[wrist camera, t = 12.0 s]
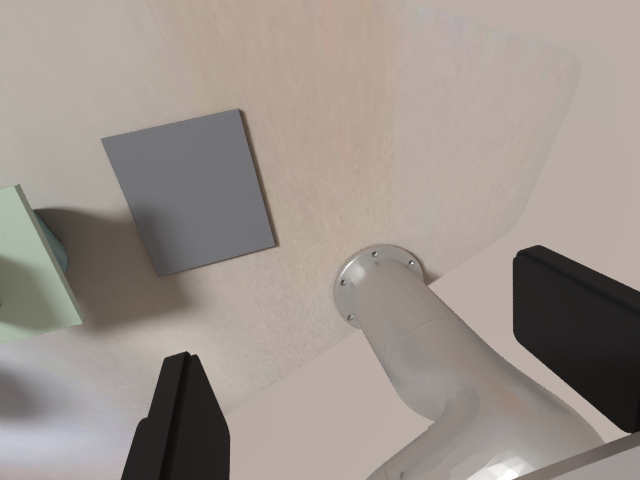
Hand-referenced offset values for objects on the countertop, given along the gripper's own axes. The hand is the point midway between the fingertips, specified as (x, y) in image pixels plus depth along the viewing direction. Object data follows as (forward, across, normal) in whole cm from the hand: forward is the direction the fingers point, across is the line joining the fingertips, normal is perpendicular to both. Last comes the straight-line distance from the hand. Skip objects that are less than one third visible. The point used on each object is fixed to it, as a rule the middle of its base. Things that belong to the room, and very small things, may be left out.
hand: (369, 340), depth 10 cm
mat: (+34, +9, +2) cm, 35 cm away
